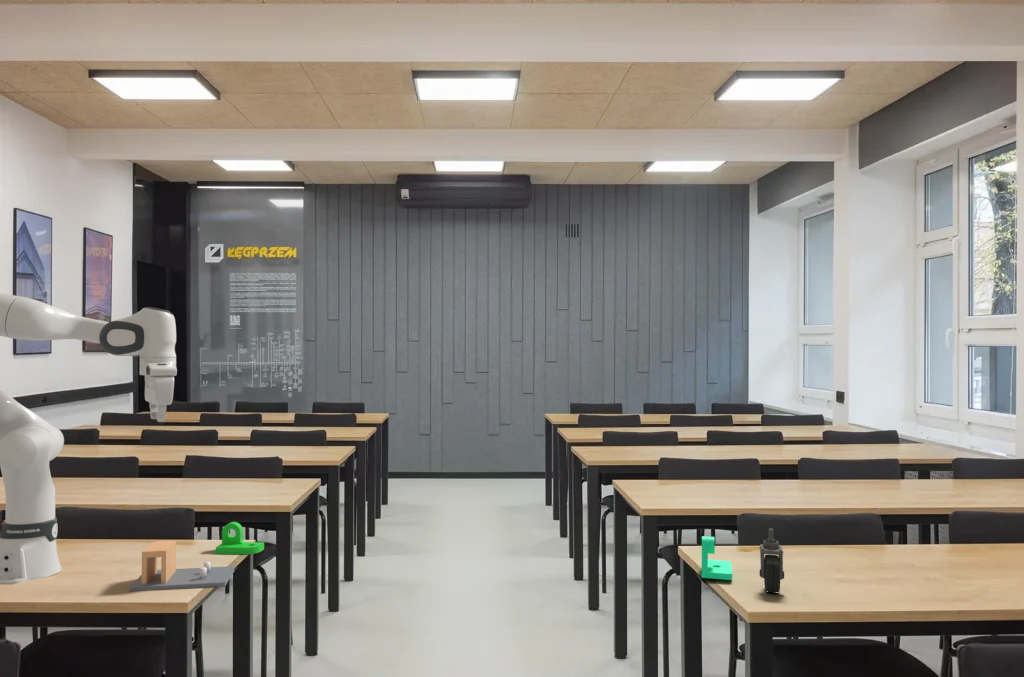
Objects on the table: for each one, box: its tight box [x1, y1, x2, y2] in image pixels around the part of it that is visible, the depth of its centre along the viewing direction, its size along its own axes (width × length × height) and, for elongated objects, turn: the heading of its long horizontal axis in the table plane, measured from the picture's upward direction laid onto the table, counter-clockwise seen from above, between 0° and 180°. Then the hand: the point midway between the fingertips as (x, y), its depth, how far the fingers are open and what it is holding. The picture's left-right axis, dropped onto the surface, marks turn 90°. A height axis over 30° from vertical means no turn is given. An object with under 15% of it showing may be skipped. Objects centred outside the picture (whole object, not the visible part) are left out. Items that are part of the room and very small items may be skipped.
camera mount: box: [701, 535, 733, 581], centre depth 199 cm, size 12×8×10 cm, turn 165°
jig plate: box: [128, 561, 235, 592], centre depth 191 cm, size 22×14×4 cm, turn 101°
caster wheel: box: [759, 528, 785, 593], centre depth 185 cm, size 6×10×15 cm, turn 165°
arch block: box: [141, 540, 177, 584], centre depth 190 cm, size 6×10×8 cm, turn 11°
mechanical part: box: [215, 521, 265, 555], centre depth 221 cm, size 12×6×8 cm, turn 87°
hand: (157, 420), depth 199 cm, fingers open, 8 cm apart
